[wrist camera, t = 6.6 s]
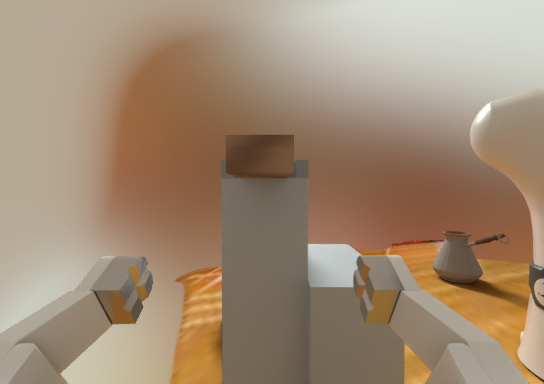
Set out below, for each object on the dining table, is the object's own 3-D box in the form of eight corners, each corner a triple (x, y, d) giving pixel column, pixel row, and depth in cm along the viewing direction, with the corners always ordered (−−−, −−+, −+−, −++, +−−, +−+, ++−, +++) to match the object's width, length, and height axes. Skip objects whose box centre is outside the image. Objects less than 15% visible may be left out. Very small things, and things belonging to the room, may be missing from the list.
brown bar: (283, 182, 39) (283, 165, 39) (293, 172, 17) (293, 134, 17) (253, 182, 39) (253, 165, 39) (225, 172, 17) (225, 135, 17)
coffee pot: (423, 272, 79) (424, 222, 79) (462, 272, 79) (462, 222, 79) (479, 302, 58) (479, 234, 58) (531, 302, 58) (532, 234, 58)
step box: (346, 341, 43) (347, 171, 43) (403, 462, 24) (404, 157, 24) (242, 341, 43) (242, 172, 43) (217, 460, 24) (216, 157, 24)
